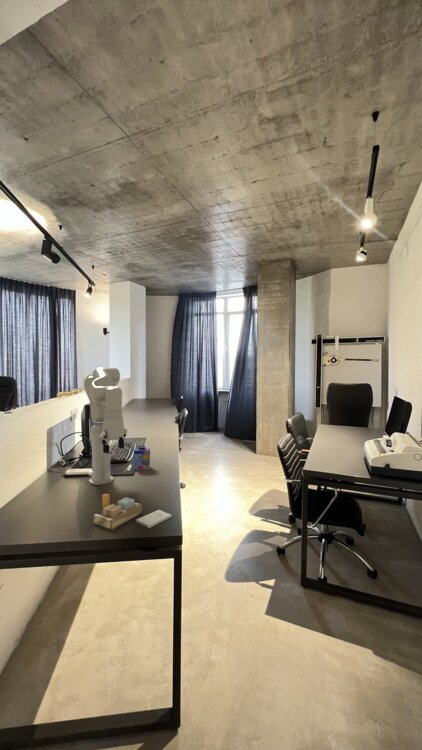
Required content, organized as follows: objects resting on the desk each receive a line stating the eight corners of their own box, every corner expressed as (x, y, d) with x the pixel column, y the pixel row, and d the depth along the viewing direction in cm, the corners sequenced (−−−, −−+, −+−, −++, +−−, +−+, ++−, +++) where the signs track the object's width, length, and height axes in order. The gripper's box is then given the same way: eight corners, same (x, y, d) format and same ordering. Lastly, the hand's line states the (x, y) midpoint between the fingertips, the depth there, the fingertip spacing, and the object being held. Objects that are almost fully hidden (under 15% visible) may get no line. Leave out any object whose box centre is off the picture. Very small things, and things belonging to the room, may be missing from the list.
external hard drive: (135, 523, 136) (158, 512, 146) (148, 529, 131) (171, 518, 140) (135, 519, 136) (158, 509, 146) (148, 525, 131) (171, 514, 140)
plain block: (103, 523, 135) (103, 508, 135) (112, 518, 139) (112, 504, 139) (112, 526, 133) (112, 511, 132) (121, 520, 137) (121, 506, 137)
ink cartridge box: (133, 470, 202) (133, 447, 201) (133, 467, 207) (133, 444, 207) (150, 469, 204) (150, 446, 204) (149, 466, 210) (149, 443, 209)
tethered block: (99, 509, 147) (99, 496, 147) (107, 505, 152) (107, 492, 152) (126, 517, 140) (126, 503, 139) (134, 513, 144) (134, 499, 144)
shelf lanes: (94, 523, 135) (93, 514, 134) (124, 507, 150) (124, 499, 150) (112, 529, 130) (112, 520, 130) (141, 512, 145) (141, 504, 145)
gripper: (120, 411, 164) (120, 445, 164) (93, 416, 148) (93, 453, 149) (132, 412, 160) (132, 447, 161) (105, 417, 145) (106, 456, 145)
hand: (113, 450), depth 155 cm, fingers open, 9 cm apart
